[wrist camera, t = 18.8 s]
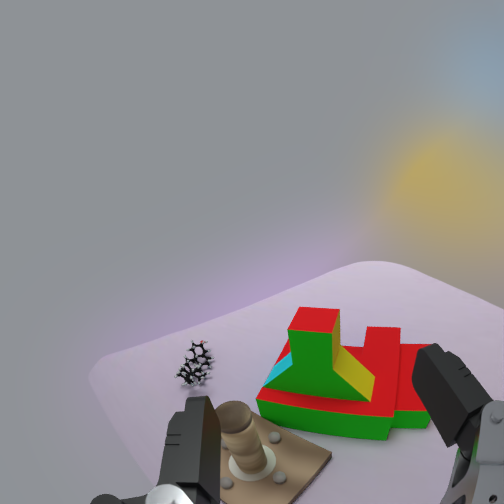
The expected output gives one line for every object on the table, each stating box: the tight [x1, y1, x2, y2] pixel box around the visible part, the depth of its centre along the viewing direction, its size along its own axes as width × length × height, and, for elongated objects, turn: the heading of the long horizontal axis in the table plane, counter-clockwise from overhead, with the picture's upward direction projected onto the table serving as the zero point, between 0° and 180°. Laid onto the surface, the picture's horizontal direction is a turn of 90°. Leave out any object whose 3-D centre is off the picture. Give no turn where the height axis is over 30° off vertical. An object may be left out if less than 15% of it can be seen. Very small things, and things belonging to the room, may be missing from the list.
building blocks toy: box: [256, 307, 431, 440], centre depth 38 cm, size 19×25×18 cm
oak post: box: [215, 401, 267, 474], centre depth 29 cm, size 4×4×12 cm
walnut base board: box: [220, 411, 332, 504], centre depth 31 cm, size 14×16×3 cm
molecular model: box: [174, 340, 214, 386], centre depth 51 cm, size 15×6×6 cm, turn 179°
